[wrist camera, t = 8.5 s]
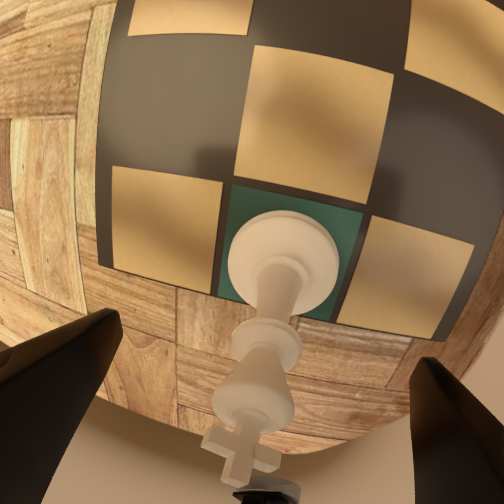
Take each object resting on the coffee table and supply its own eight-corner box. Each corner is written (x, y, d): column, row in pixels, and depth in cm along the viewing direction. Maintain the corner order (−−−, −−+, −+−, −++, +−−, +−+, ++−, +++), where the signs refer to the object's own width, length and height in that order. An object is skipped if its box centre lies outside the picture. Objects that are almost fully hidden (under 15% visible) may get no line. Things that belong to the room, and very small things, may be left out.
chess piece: (299, 325, 15) (272, 524, 6) (212, 275, 15) (105, 458, 6) (360, 249, 13) (415, 469, 4) (263, 187, 13) (149, 365, 4)
